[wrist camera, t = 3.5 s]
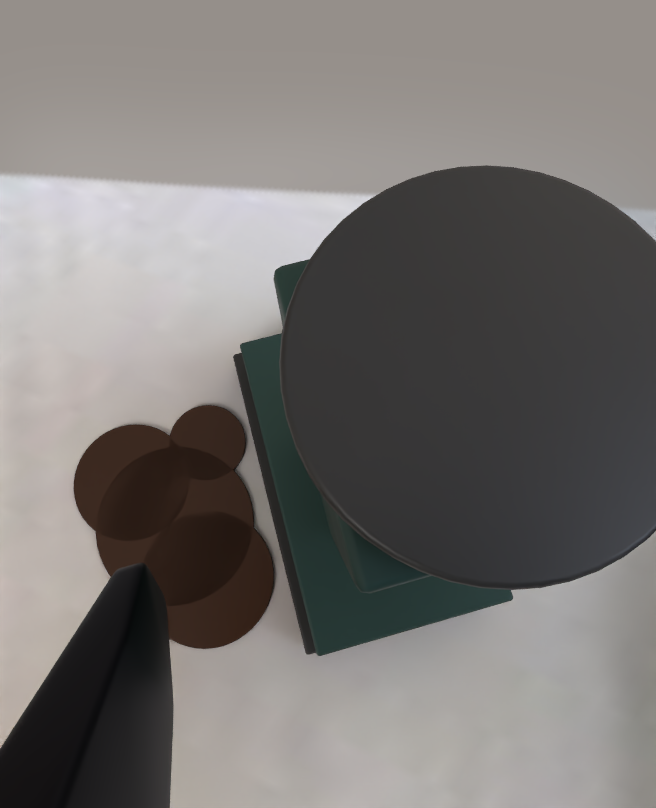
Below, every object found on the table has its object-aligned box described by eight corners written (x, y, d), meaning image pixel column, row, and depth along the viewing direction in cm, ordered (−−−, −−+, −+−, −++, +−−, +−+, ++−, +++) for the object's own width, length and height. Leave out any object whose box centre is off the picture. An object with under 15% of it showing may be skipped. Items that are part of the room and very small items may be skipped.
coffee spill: (291, 625, 17) (290, 626, 16) (109, 677, 16) (107, 679, 16) (235, 397, 18) (235, 397, 18) (65, 441, 18) (64, 441, 17)
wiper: (498, 591, 17) (1141, 883, 4) (307, 647, 16) (258, 1197, 3) (413, 318, 18) (649, -161, 5) (236, 363, 18) (16, -34, 5)
